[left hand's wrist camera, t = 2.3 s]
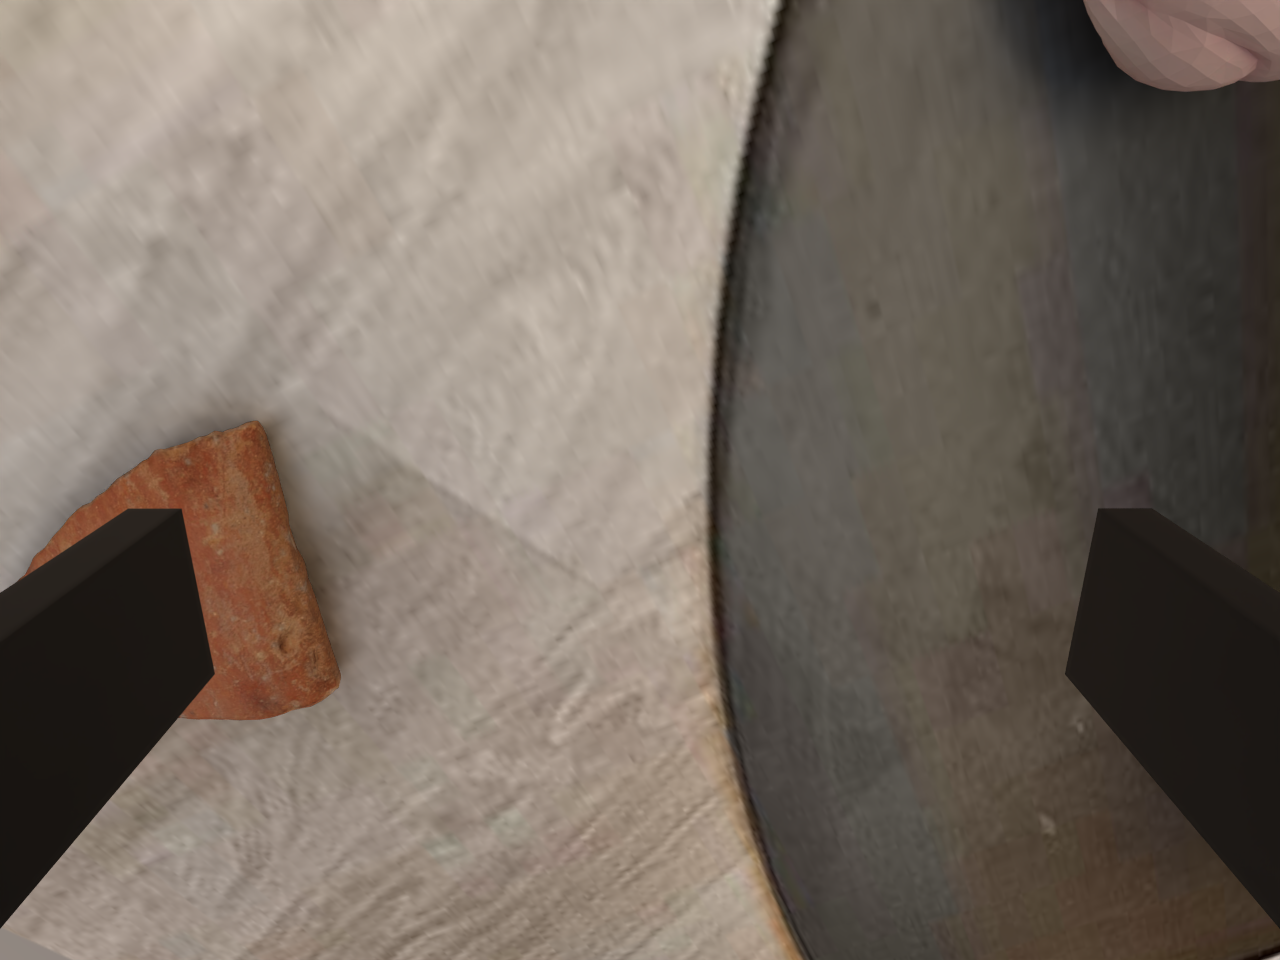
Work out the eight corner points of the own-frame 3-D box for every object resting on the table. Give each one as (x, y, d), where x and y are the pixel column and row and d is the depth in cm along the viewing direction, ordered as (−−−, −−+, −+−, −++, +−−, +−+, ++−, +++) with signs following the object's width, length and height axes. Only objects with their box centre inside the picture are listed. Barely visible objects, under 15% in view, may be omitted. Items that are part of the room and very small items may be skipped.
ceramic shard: (-111, 483, 36) (252, 425, 37) (-15, 457, 42) (292, 408, 43) (-3, 791, 39) (328, 727, 40) (71, 725, 45) (355, 671, 46)
